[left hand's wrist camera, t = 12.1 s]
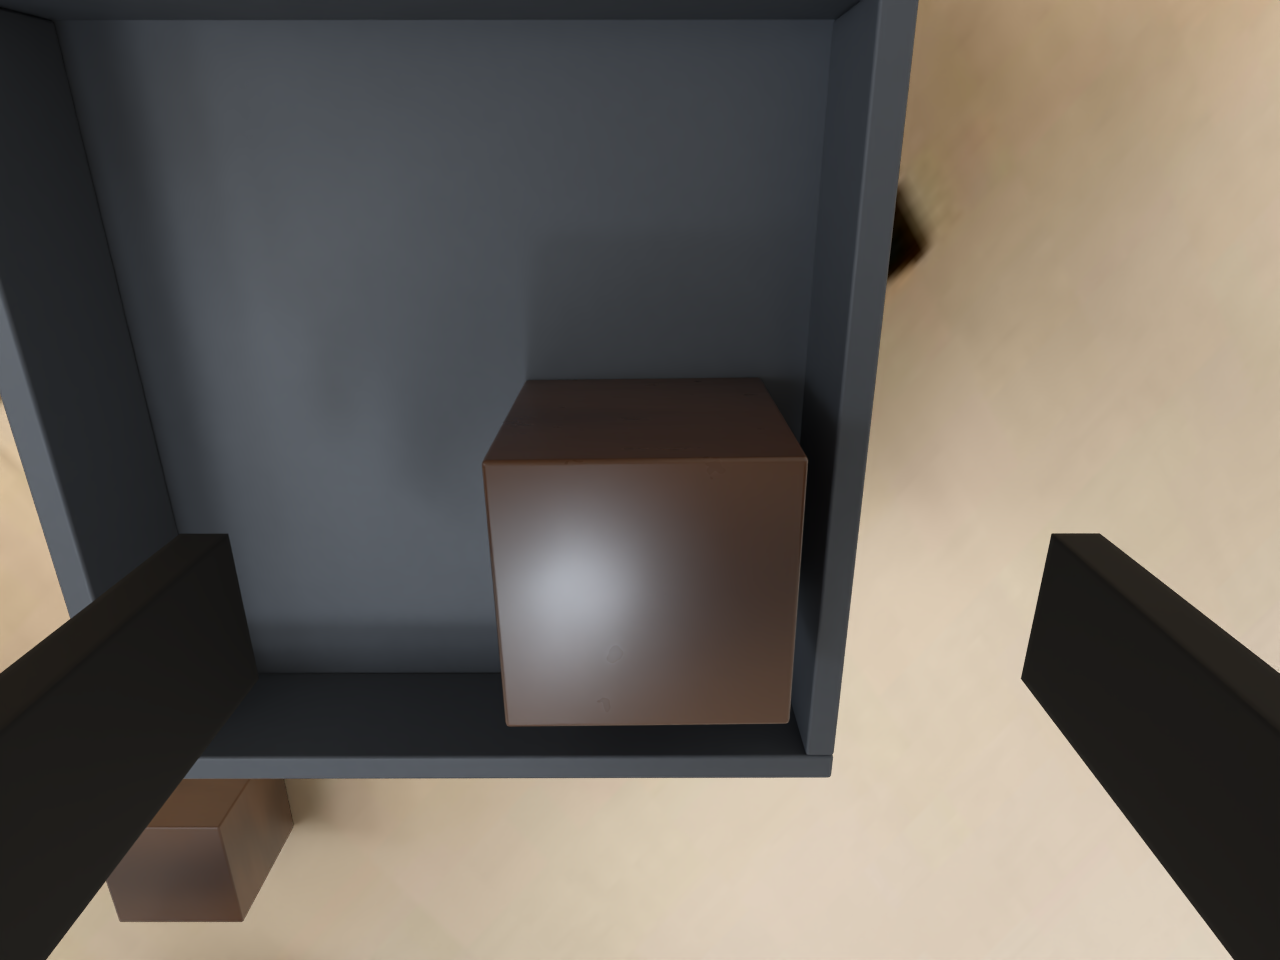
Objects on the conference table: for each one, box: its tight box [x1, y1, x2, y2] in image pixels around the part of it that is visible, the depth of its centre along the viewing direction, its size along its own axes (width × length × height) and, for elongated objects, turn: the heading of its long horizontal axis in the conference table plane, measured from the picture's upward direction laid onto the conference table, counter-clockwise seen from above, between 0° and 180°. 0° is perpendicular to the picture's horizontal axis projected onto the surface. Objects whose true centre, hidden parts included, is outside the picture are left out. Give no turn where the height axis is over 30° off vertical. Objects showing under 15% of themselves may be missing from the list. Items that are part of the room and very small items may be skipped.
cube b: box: [106, 779, 293, 922], centre depth 33 cm, size 5×5×5 cm
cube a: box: [482, 378, 808, 727], centre depth 15 cm, size 5×5×5 cm
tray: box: [0, 0, 919, 779], centre depth 12 cm, size 28×15×6 cm, turn 0°
